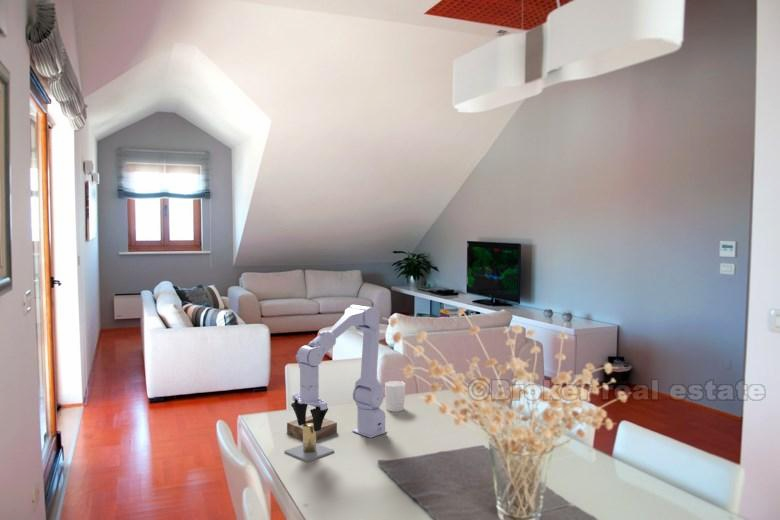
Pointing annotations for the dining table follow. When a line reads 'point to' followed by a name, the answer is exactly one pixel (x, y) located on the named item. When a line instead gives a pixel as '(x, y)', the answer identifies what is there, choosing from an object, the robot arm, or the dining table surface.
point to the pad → (308, 457)
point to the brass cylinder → (309, 438)
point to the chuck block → (326, 429)
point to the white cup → (394, 395)
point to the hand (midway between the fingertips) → (309, 427)
